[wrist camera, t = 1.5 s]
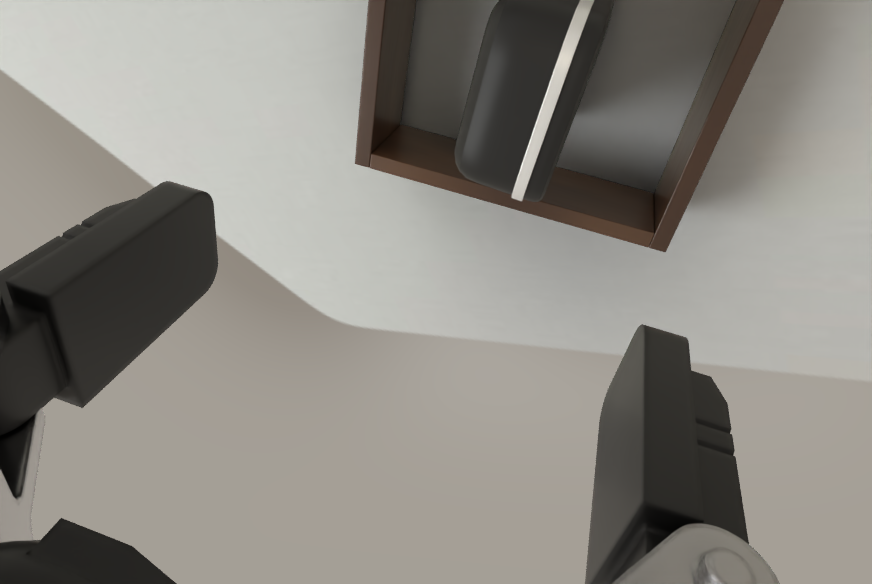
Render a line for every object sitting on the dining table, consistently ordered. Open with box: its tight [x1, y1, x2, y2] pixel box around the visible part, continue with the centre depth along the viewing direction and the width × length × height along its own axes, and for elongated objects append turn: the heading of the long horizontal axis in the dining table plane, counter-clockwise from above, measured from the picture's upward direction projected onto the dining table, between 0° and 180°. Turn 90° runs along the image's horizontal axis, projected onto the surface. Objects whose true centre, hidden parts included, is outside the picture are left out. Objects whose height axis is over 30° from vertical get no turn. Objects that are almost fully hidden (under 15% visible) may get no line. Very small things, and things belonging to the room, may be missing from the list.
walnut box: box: [355, 0, 784, 252], centre depth 26 cm, size 16×14×4 cm
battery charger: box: [455, 0, 614, 202], centre depth 24 cm, size 7×4×11 cm, turn 165°
